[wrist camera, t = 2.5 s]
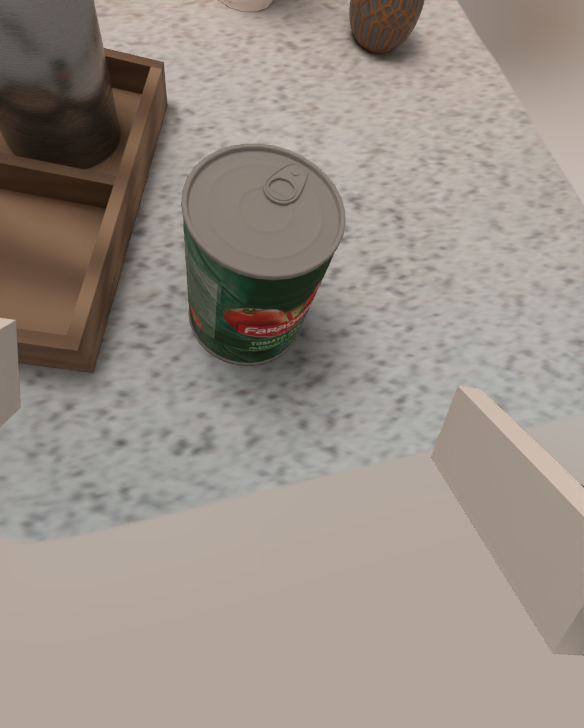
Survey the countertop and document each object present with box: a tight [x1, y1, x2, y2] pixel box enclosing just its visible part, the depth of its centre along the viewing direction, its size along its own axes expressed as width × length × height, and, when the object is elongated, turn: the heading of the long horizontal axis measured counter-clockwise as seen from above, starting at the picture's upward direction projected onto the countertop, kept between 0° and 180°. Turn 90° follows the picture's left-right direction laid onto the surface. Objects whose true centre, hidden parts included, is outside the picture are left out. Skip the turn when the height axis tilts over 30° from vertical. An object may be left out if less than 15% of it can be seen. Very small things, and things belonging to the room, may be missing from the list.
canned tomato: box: [181, 144, 345, 365], centre depth 26 cm, size 8×8×11 cm
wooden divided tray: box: [0, 48, 167, 373], centre depth 29 cm, size 24×13×4 cm, turn 175°
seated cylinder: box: [0, 0, 121, 170], centre depth 27 cm, size 8×8×11 cm
